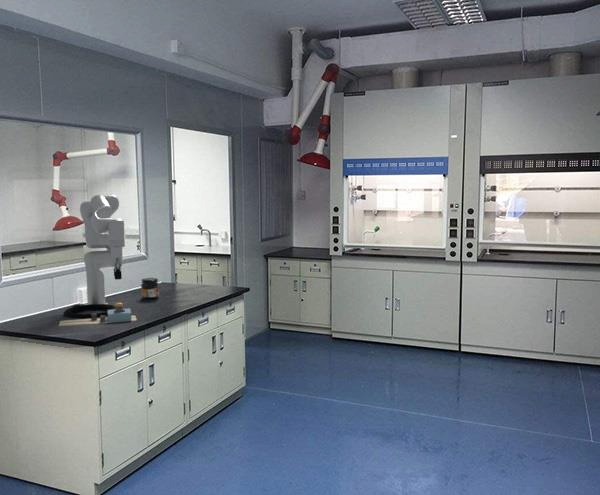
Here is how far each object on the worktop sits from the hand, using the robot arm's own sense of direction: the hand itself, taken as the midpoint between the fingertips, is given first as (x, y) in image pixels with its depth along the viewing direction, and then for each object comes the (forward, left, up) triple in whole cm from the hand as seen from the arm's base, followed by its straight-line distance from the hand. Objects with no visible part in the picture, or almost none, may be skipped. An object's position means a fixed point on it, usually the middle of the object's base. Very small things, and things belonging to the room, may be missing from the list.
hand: (117, 277), depth 278 cm
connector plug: (0, 0, -21) cm, 21 cm away
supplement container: (-56, +20, -23) cm, 63 cm away
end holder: (0, 0, -21) cm, 21 cm away
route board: (0, -10, -22) cm, 24 cm away
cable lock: (-21, -14, -23) cm, 34 cm away
